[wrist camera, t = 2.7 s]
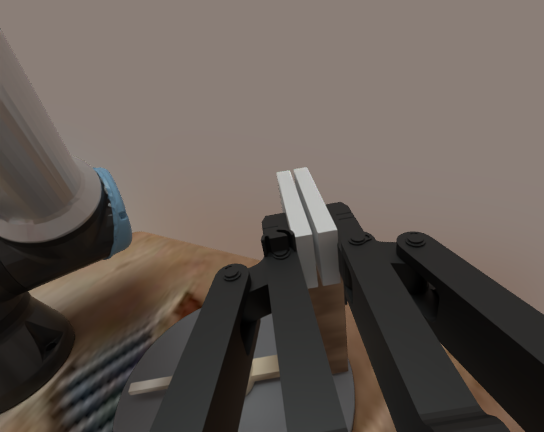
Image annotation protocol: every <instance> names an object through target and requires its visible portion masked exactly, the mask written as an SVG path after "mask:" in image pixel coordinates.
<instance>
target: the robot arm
mask: <svg viewBox="0 0 544 432" xmlns="http://www.w3.org/2000/svg"><path fill="white" fill-rule="evenodd" d="M294 177H295V184H294V181H293V178H292V175H291V173H290V171H289V170H288V171H283V172H277V180H278V186H279V192H280V198H281V204H282V211H283V213H280V214H274V215H269V216H265V218H264V219H263V221H262V228H263V236H262V238H261V243H262V247H263V252H264V258H263V260H262V261H261V262H259V263H258V264H257V265H255V266H253V267H250V268H247V267H246V266H244V265H242V264H230V265H227V266H225V267H223V268H222V269H220V270H219V271H218V272H217V274H216V275H215V278H214V280H213V282H212V285H211V287H210V289H209V292H208V294H207V296H206V299H205V301H204V303H203V306H202V308H201V311H200V313H199V315H198V318H197V320H196V322H195V325H194V327H193V329H192V332H191V334H190V336H189V339H188V341H187V344H186V346H185V348H184V351H183V353H182V355H181V358H180V360H179V362H178V365H177V367H176V369H175V372H174V374H173V377H172V379H171V381H170V384H169V386H168V388H167V391H166V393H165V395H164V398H163V400H162V403H161V405H160V407H159V410H158V412H157V414H156V417H155V419H154V421H153V424H152V426H151V428H150V431H149V432H238V429H239V424H240V419H241V414H242V409H243V405H244V400H245V395H246V390H247V386H248V381H249V376H250V371H251V366H252V362H253V357H254V352H255V347H256V343H257V338H258V333H259V328H260V323H261V318H263V317H265V316H267V315H269V314H271V313H272V319H273V327H274V334H275V342H276V350H277V358H278V366H279V373H280V381H281V389H282V397H283V404H284V412H285V420H286V428H287V432H348V429H347V426H346V422H345V419H344V415H343V412H342V408H341V405H340V401H339V397H338V394H337V390H336V387H335V383H334V380H333V376H332V373H331V369H330V366H329V362H328V359H327V355H326V351H325V348H324V344H323V341H322V337H321V334H320V330H319V327H318V323H317V320H316V316H315V313H314V309H313V305H312V302H311V298H310V295H309V291H308V289H309V288H315V287H318V281H317V271H316V266H317V269H318V272H319V275H320V278H321V281H322V284H323V286H326V285H332V284H338V283H341V279H340V275H341V277H342V280H343V285H344V302H345V305H347V301H348V303H349V306H350V309H351V311H352V314H353V317H354V319H355V322H356V325H357V327H358V330H359V333H360V335H361V338H362V340H363V343H364V346H365V348H366V351H367V354H368V356H369V359H370V362H371V364H372V367H373V370H374V372H375V375H376V378H377V380H378V383H379V386H380V388H381V391H382V393H383V396H384V399H385V401H386V404H387V407H388V409H389V412H390V415H391V417H392V420H393V423H394V425H395V428H396V431H397V432H510V431H509V429H508V428H507V427H506V425H505V424H504V423H503V422H502V421H501V420H500V419H498V418H497V417H495V416H492V415H488V414H486V413H485V412H484V411H483V410H482V409H481V407H480V406H479V404H478V403H477V401H476V400H475V398H474V396H473V395H472V393H471V392H470V390H469V388H468V387H467V385H466V384H465V382H464V380H463V379H462V377H461V376H460V374H459V372H458V371H457V369H456V368H455V366H454V364H453V363H452V361H451V360H450V358H449V356H448V355H447V353H446V352H445V350H444V348H443V347H442V345H443V346H444V347H445V348H446V349H447V350H448V351H449V352H450V353H451V354H452V356H453V357H454V358H455V359H456V360H457V361H458V362H459V363H460V364H461V365H462V366H463V367H464V368H465V369H466V370H467V371H468V372H469V373H470V374H471V375H472V376H473V377H474V378H475V380H476V381H477V382H478V383H479V384H480V385H481V386H482V387H483V388H484V389H485V390H486V391H487V392H488V393H489V394H490V395H491V396H492V397H493V398H494V399H495V400H496V401H497V402H498V403H499V405H500V406H501V407H502V408H503V409H504V410H505V411H506V412H507V413H508V414H509V415H510V416H511V417H512V418H513V419H514V420H515V421H516V422H517V423H518V424H519V425H520V426H521V427H522V429H523V430H524V431H525V432H544V315H543V314H542V313H540V312H539V311H537V310H536V309H535V308H533V307H532V306H530V305H529V304H527V303H526V302H524V301H523V300H521V299H520V298H519V297H517V296H516V295H514V294H513V293H511V292H510V291H508V290H507V289H506V288H504V287H502V286H501V285H500V284H498V283H497V282H495V281H494V280H493V279H491V278H490V277H488V276H487V275H485V274H484V273H482V272H481V271H480V270H478V269H477V268H475V267H474V266H472V265H471V264H469V263H468V262H466V261H465V260H464V259H462V258H461V257H459V256H458V255H456V254H455V253H453V252H452V251H451V250H449V249H448V248H446V247H445V246H443V245H442V244H440V243H439V242H438V241H436V240H435V239H433V238H432V237H430V236H428V235H426V234H424V233H420V232H406V233H403V234H401V235H399V236H398V238H397V242H379V241H376V240H375V238H374V237H373V236H372V235H371V234H369V233H367V232H364V231H363V229H362V228H361V226H360V225H359V223H358V221H357V220H356V218H355V217H354V215H353V213H351V210H350V208H349V207H348V206H347V205H345V204H344V203H342V202H338V203H332V204H327V205H325V203H324V201H323V199H322V197H321V195H320V193H319V191H318V189H317V187H316V185H315V183H314V181H313V179H312V177H311V175H310V173H309V171H308V169H307V167H305V168H299V169H294ZM295 185H296V187H295ZM131 241H132V230H131V226H130V222H129V219H128V216H127V214H126V210H125V206H124V203H123V200H122V197H121V195H120V192H119V190H118V188H117V186H116V183H115V182H114V180H113V178H112V176H111V174H110V173H109V172H108V170H106V169H104V168H92V167H91V166H90V165H89V164H88V163H87V162H85V161H84V160H82V159H79V158H78V157H75V156H72V155H70V153H69V151H68V150H67V148H66V146H65V144H64V142H63V141H62V139H61V137H60V136H59V133H58V132H57V130H56V128H55V126H54V124H53V123H52V121H51V119H50V117H49V115H48V114H47V112H46V110H45V108H44V106H43V105H42V103H41V101H40V99H39V98H38V95H37V94H36V92H35V90H34V88H33V87H32V85H31V83H30V81H29V79H28V77H27V76H26V74H25V72H24V70H23V68H22V67H21V65H20V63H19V61H18V59H17V58H16V56H15V54H14V52H13V51H12V49H11V47H10V45H9V43H8V42H7V40H6V38H5V36H4V34H3V32H2V31H1V29H0V413H1V412H3V411H5V410H7V409H9V408H11V407H13V406H14V405H16V404H18V403H19V402H21V401H23V400H24V399H26V398H27V397H28V396H30V395H31V394H32V393H34V392H35V391H36V390H38V389H39V388H40V387H41V386H42V385H43V384H45V383H46V382H47V381H48V380H49V379H50V378H51V377H52V376H53V375H54V374H55V373H56V371H57V370H58V369H59V368H60V367H61V365H62V364H63V363H64V361H65V360H66V358H67V357H68V355H69V353H70V351H71V349H72V346H73V343H74V337H75V334H74V330H73V328H72V326H71V325H70V323H69V322H68V320H67V319H66V318H65V317H64V316H63V315H62V314H61V313H59V312H57V311H56V310H54V309H52V308H51V307H49V306H47V305H46V304H44V303H42V302H40V301H39V300H37V299H35V298H34V297H32V296H31V295H30V294H29V292H28V291H29V290H32V289H34V288H36V287H39V286H41V285H43V284H46V283H48V282H50V281H53V280H55V279H58V278H60V277H62V276H65V275H67V274H69V273H72V272H74V271H77V270H79V269H81V268H84V267H86V266H88V265H91V264H93V263H96V262H98V261H100V260H106V259H109V258H111V257H112V256H113V255H114V254H116V253H118V252H120V251H123V250H125V249H126V248H127V247H129V245H130V244H131ZM440 343H441V344H442V345H441V344H440Z"/></svg>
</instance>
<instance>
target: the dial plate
mask: <svg viewBox="0 0 544 432" xmlns="http://www.w3.org/2000/svg"><path fill="white" fill-rule="evenodd" d="M200 311H201V309H198V310H196V311H195V312H193V313H191V314H189V315H187V316H186V317H184V318H183V319H181V320H180V321H178V322H177V323H175V324H174V325H173V326H172V327H171V328H169V329H168V330H167V331H166V332H164V333H163V334H162V335H161V336H160V337H159V338H158V339H157V340H156V341H155V342H154V343H153V344H152V346H151V347H150V348H149V349H148V350H147V351H146V352H145V354H144V355H143V356H142V358H141V359H140V361H139V362H138V363H137V365H136V366H135V368H134V370H133V371H132V373H131V375H130V376H129V378H128V381H127V383H126V385H125V387H124V389H123V391H122V394H121V397H120V400H119V402H118V405H117V409H116V413H115V418H114V422H113V432H149V431H150V428H151V426H152V424H153V421H154V419H155V417H156V414H157V412H158V410H159V407H160V405H161V403H162V400H163V398H164V395H165V393H166V391H167V389H163V390H157V391H152V392H146V393H140V394H135V395H130V394H129V393H128V391H129V388H130V385H131V383H135V382H140V381H146V380H152V379H158V378H163V377H169V376H173V374H174V372H175V369H176V367H177V365H178V362H179V360H180V358H181V355H182V353H183V351H184V348H185V346H186V344H187V341H188V339H189V336H190V334H191V332H192V329H193V327H194V325H195V322H196V320H197V318H198V315H199V313H200ZM272 355H277V350H276V342H275V334H274V327H273V319H272V313H271V314H269V315H267V316H265V317H263V318H261V323H260V328H259V333H258V338H257V343H256V347H255V352H254V357H253V359H255V358H261V357H266V356H272ZM332 376H333V380H334V383H335V387H336V390H337V394H338V397H339V401H340V405H341V408H342V412H343V415H344V419H345V422H346V426H347V429H348V432H352V429H353V422H354V413H355V395H354V381H353V375H352V369H351V366H350V363H349V359H348V371H346V372H340V373H335V374H332ZM238 432H287V428H286V420H285V412H284V404H283V397H282V389H281V381H280V377H276V378H271V379H265V380H259V381H255V382H254V385H253V387H252V389H251V390H250V392H249V393H248V394H247V395H246V396H245V400H244V405H243V409H242V414H241V419H240V424H239V429H238Z"/></svg>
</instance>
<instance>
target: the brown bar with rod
mask: <svg viewBox="0 0 544 432" xmlns="http://www.w3.org/2000/svg"><path fill="white" fill-rule="evenodd" d="M316 271H317V281H318V287H315V288H309V289H308V291H309V295H310V298H311V302H312V305H313V309H314V313H315V316H316V320H317V323H318V327H319V330H320V334H321V337H322V341H323V344H324V348H325V351H326V355H327V359H328V362H329V366H330V369H331V373H332V374H335V373H340V372H346V371H348V354H347V336H346V317H345V302H344V285H343V280H342V277H341V275H340V279H341V283H338V284H332V285H326V286H323V284H322V281H321V278H320V275H319V272H318V269H317V266H316ZM172 377H173V376H169V377H163V378H158V379H152V380H146V381H140V382H135V383H131V385H130V388H129V391H128V393H129V394H130V395H135V394H140V393H146V392H152V391H157V390H163V389H167V388H168V386H169V384H170V381H171V379H172ZM276 377H280V373H279V366H278V358H277V355H272V356H266V357H261V358H255V359H253V362H252V366H251V371H250V376H249V381H248V386H247V390H246V395H247V394H248V393H249V392H250V390H251V389H252V387H253V385H254V382H255V381H259V380H265V379H271V378H276ZM246 395H245V396H246Z"/></svg>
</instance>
